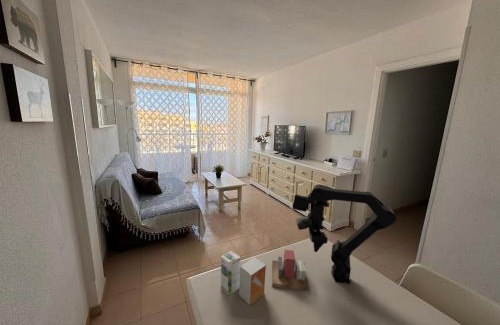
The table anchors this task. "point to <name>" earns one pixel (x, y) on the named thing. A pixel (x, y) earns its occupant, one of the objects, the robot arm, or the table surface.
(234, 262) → the syrup box
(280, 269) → the bookend
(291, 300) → the table surface
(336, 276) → the robot arm
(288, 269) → the red flat-faced block
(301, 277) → the shelved books
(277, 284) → the shelf
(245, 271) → the small box
